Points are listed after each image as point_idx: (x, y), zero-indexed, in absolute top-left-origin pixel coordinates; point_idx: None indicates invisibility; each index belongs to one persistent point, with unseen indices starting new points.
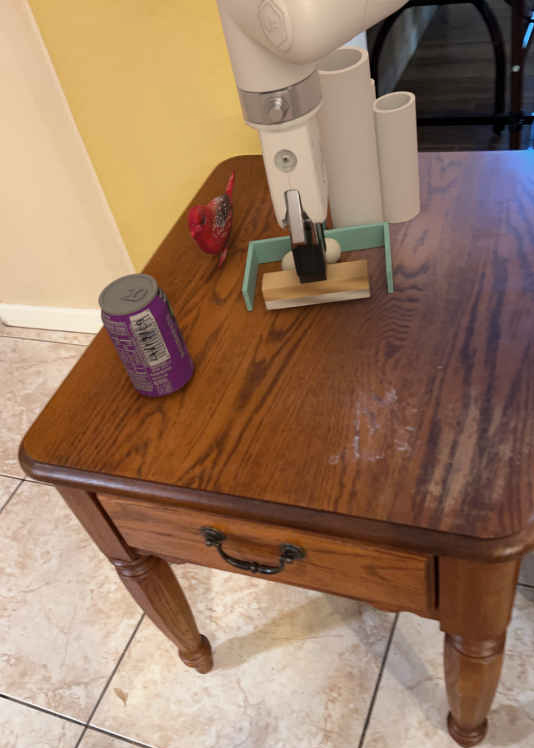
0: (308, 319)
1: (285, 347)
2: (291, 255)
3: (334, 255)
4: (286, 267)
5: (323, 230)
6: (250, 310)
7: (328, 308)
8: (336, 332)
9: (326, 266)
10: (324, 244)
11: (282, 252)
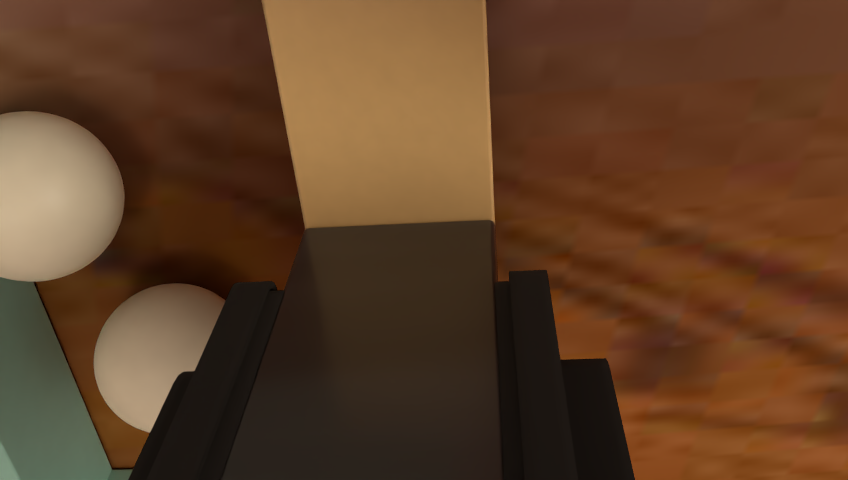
0: (571, 232)
1: (767, 317)
2: None
3: (81, 158)
4: None
5: (189, 400)
6: None
7: (495, 136)
8: (728, 76)
9: (372, 242)
10: (251, 323)
11: (53, 409)
